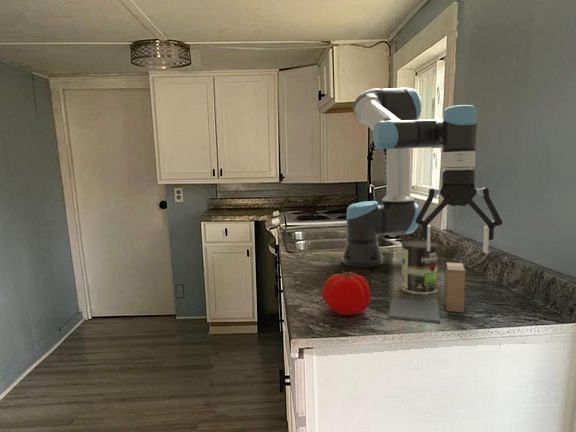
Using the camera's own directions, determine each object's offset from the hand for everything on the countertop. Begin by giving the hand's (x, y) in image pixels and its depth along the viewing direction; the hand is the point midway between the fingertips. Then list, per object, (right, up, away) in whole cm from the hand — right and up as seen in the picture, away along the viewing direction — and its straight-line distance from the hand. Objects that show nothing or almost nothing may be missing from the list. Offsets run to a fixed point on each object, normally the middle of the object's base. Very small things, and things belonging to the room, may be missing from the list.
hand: (456, 251), depth 98 cm
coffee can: (-4, -13, +17) cm, 21 cm away
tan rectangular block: (0, -15, +2) cm, 15 cm away
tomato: (-28, -16, +2) cm, 33 cm away
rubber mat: (-11, -16, 0) cm, 19 cm away
